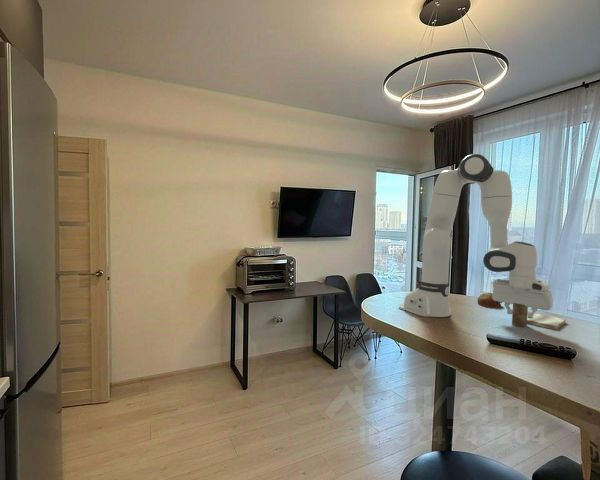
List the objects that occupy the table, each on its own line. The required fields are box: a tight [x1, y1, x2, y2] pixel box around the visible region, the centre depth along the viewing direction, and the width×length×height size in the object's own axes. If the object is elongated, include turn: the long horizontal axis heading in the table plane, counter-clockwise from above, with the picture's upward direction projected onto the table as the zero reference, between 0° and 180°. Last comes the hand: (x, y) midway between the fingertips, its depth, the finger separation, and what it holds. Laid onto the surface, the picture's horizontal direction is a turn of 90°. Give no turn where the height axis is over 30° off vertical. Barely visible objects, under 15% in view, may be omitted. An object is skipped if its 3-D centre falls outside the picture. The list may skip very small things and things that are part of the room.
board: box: [527, 311, 567, 331], centre depth 135 cm, size 14×14×2 cm
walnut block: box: [511, 303, 529, 328], centre depth 130 cm, size 4×4×9 cm
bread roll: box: [477, 292, 503, 309], centre depth 161 cm, size 10×10×8 cm
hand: (519, 316), depth 130 cm, fingers open, 6 cm apart
